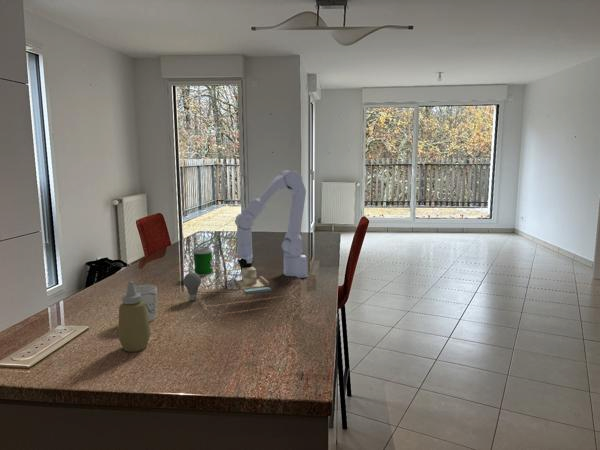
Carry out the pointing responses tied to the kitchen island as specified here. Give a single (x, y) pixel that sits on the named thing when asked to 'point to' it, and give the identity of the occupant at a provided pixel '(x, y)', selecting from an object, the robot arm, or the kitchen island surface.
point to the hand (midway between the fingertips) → (245, 277)
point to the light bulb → (192, 284)
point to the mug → (148, 299)
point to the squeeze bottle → (133, 321)
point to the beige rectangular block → (249, 275)
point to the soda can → (203, 261)
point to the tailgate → (257, 290)
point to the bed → (259, 283)
